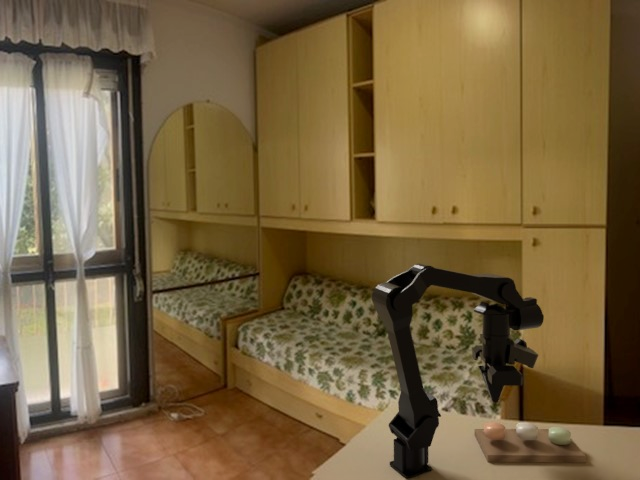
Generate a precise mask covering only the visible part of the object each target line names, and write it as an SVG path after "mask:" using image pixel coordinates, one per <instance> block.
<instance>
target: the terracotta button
mask: <svg viewBox="0 0 640 480" xmlns="http://www.w3.org/2000/svg"><path fill="white" fill-rule="evenodd" d="M483 429H484V435H485V437H487V438H489V439H492V440H502V439H504V438H505V429H506V426H505V425H504V424H502V423H499V422H494V421H493V422H492V421H489V422H486V423H484V426H483Z"/></svg>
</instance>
